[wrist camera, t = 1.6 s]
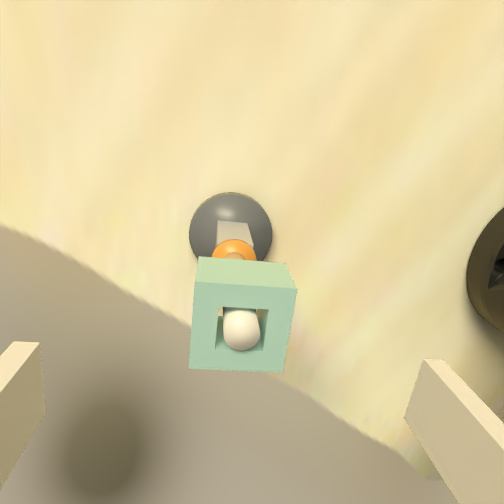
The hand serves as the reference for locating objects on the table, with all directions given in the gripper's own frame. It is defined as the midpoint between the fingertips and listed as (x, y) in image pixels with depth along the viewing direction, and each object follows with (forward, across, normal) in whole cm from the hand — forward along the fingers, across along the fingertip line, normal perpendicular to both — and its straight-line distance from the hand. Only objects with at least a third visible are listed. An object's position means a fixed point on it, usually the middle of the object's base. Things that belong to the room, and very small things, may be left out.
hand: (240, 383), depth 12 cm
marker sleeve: (+7, 0, 0) cm, 7 cm away
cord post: (+19, 0, 0) cm, 19 cm away
